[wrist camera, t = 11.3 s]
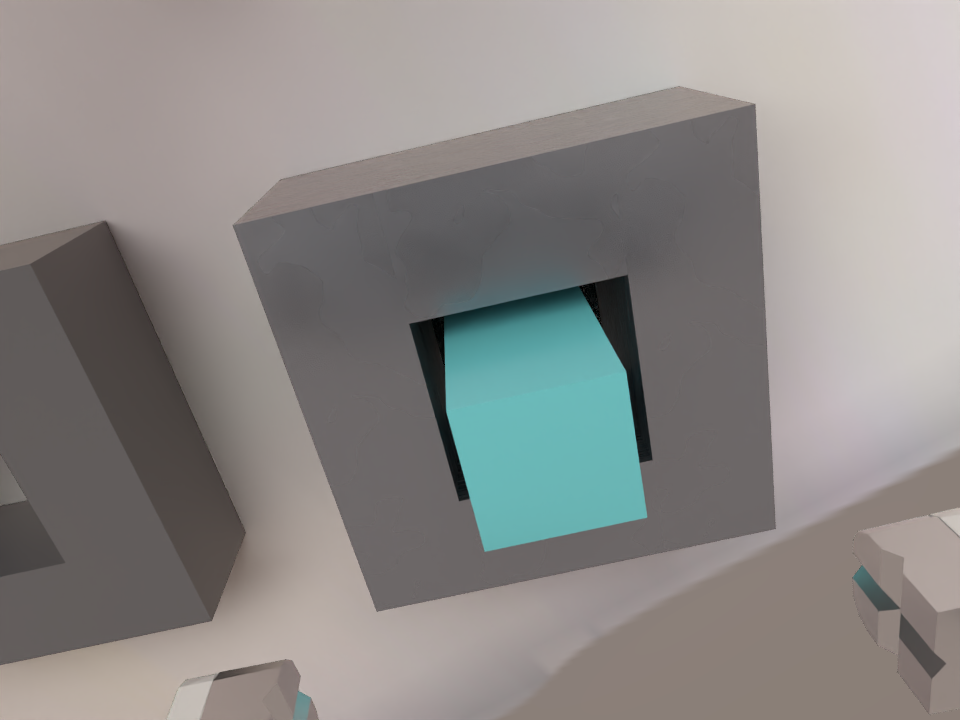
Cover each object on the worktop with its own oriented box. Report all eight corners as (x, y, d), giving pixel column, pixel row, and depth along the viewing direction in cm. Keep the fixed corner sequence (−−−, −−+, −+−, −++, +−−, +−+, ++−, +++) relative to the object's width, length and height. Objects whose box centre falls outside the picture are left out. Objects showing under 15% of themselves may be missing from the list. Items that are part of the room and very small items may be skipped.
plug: (469, 382, 22) (484, 551, 15) (443, 279, 21) (446, 411, 14) (578, 358, 22) (647, 517, 15) (560, 252, 21) (626, 372, 14)
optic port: (388, 502, 24) (376, 611, 20) (280, 179, 19) (232, 224, 15) (710, 433, 24) (775, 528, 19) (679, 86, 19) (755, 104, 14)
